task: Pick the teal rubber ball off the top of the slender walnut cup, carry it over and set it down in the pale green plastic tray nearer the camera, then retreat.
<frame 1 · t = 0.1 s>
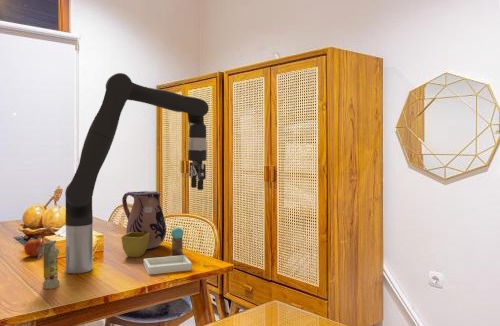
hand: (197, 188, 172), 29 cm above the table, fingers open, 8 cm apart
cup: (177, 256, 176), on the table
flower pot: (135, 256, 176), on the table
ball: (177, 233, 175), point 10 cm above the table, touching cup
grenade: (47, 287, 137), on the table
ceramic pitcher: (142, 247, 191), on the table
fruit: (34, 256, 173), on the table
tray: (167, 267, 160), on the table
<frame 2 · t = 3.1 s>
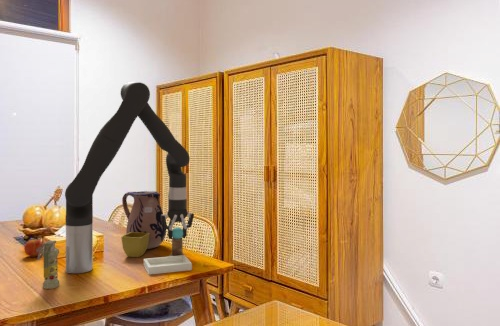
hand: (177, 238, 176), 8 cm above the table, fingers closed on ball, 5 cm apart
ball: (177, 233, 175), point 10 cm above the table, touching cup, gripper
everything else where it was.
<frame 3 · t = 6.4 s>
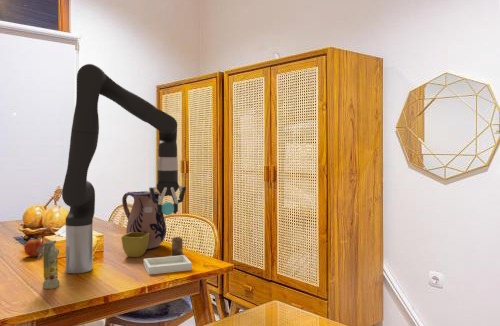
hand: (167, 213, 159), 21 cm above the table, fingers closed on ball, 5 cm apart
ball: (167, 208, 159), point 23 cm above the table, touching gripper
everything else where it was.
when the fingers open (3 cm above the table, at t = 9.7 s): ball drops 2 cm, resting on tray.
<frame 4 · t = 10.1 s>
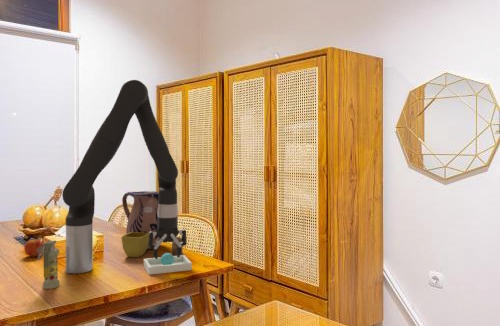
hand: (167, 257, 160), 4 cm above the table, fingers open, 8 cm apart
ball: (167, 259, 160), point 3 cm above the table, touching tray
everything else where it was.
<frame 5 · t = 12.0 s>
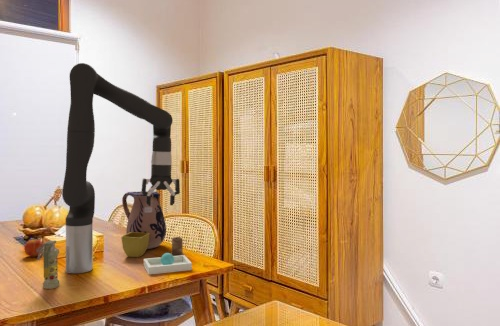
hand: (160, 205, 162), 23 cm above the table, fingers open, 8 cm apart
nothing on the table moved.
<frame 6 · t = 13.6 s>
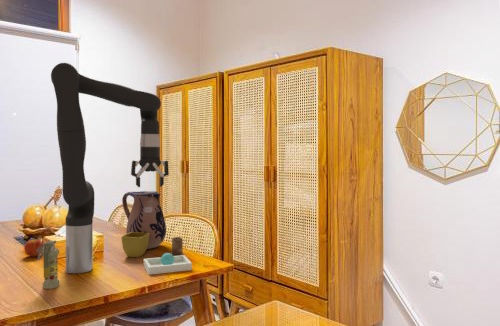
hand: (149, 186, 166), 30 cm above the table, fingers open, 8 cm apart
nothing on the table moved.
at the end: ball inside the target area on the tray (0.1 cm from its centre), point 3.1 cm above the tray's base; the gripper is holding nothing; ball touching tray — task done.
